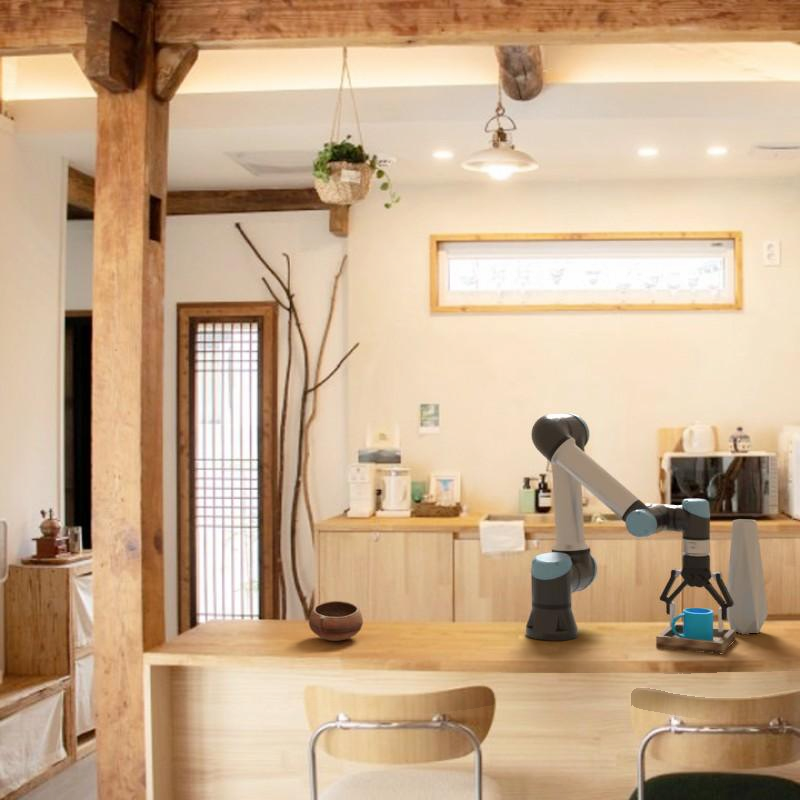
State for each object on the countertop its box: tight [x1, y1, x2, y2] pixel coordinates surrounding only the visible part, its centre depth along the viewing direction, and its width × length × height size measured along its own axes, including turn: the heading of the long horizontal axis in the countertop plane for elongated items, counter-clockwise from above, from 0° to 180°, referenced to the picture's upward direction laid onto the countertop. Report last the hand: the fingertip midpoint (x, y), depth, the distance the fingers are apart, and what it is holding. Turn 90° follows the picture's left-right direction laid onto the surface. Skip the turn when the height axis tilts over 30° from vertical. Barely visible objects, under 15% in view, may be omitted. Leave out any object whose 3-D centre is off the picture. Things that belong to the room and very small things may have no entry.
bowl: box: [308, 600, 364, 642], centre depth 309 cm, size 16×16×10 cm
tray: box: [655, 623, 737, 654], centre depth 301 cm, size 18×18×3 cm
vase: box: [726, 518, 769, 635], centre depth 314 cm, size 12×12×33 cm
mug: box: [671, 607, 714, 641], centre depth 301 cm, size 12×8×8 cm
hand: (696, 628), depth 300 cm, fingers open, 13 cm apart
